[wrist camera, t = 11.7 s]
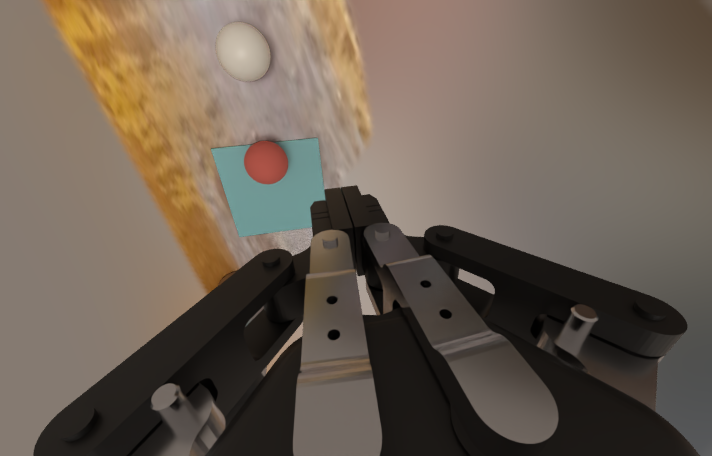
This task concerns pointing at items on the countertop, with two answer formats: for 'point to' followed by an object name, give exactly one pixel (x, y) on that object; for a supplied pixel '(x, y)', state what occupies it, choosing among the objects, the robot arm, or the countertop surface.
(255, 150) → the ball
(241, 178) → the mark
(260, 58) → the ball
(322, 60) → the countertop surface
